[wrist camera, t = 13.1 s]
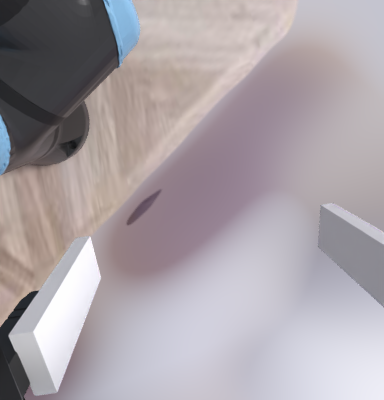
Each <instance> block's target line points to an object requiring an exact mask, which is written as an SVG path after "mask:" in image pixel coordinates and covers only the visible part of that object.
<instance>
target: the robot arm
mask: <svg viewBox="0 0 384 400" xmlns="http://www.w3.org/2000/svg"><path fill="white" fill-rule="evenodd" d="M139 35H140V24H139V19H138V16H137V13H136V10H135V7H134V5H133V3H132V0H0V175H2V174H4V173H6V172H9V171H11V170H14V169H16V168H18V167H21V166H23V165H26V164H28V163H30V164H36V165H51V164H56V163H60V162H62V161H64V160H66V159H68V158H70V157H72V156H73V155H75V154H76V153H77V152H78V151H79V150H80V149H81V147H82V146H83V144H84V143H85V141H86V138H87V135H88V131H89V115H88V110H87V107H86V104H85V102H84V100H85V99H86V98H87V97H88V96H89V95H90V94H91V93H92V92H93V91H94V90H95V89H96V88H97V87H98V86H99V85H100V84H101V83H102V82H103V81H104V80H105V79H106V78H107V76H108V75H109V74H110V73H111V72H112V71H113V70H114V69H115V68H118V67H120V66H121V64H122V62H123V59H124V58H125V57H126V56H127V55H128V53H129V52H130V51H131V50H132V49H133V48H134V47H135V45H136V44H137V42H138V39H139ZM318 247H319V248H320V249H321V250H322V251H323V252H324V253H325V254H326V255H327V256H328V257H330V258H331V259H332V260H333V261H334V262H335V263H336V264H337V265H338V266H339V267H340V268H342V269H343V270H344V271H345V272H346V273H347V274H348V275H349V276H350V277H351V278H352V279H354V280H355V281H356V282H357V283H358V284H359V285H360V286H361V287H362V288H363V289H364V290H365V291H366V292H368V293H369V294H370V295H371V296H372V297H373V298H374V299H375V300H376V301H377V302H378V303H380V304H381V305H382V306H383V307H384V232H383V231H381V230H379V229H378V228H376V227H374V226H372V225H371V224H369V223H367V222H365V221H364V220H362V219H360V218H358V217H357V216H355V215H353V214H352V213H350V212H348V211H346V210H345V209H343V208H341V207H339V206H338V205H336V204H334V203H332V204H324V205H321V208H320V225H319V240H318ZM100 279H101V276H100V272H99V268H98V265H97V261H96V257H95V253H94V249H93V246H92V242H91V238H90V236H86V237H79V238H75V240H74V241H73V243H72V244H71V246H70V247H69V249H68V250H67V251H66V253H65V254H64V256H63V257H62V259H61V260H60V262H59V263H58V264H57V266H56V267H55V269H54V270H53V272H52V273H51V275H50V276H49V277H48V279H47V280H46V282H45V283H44V285H43V286H42V287H41V289H40V290H39V291H33V292H31V293H29V294H28V295H27V296H26V297H24V298H23V299H22V300H21V301H20V302H19V303H18V305H17V306H16V307H15V309H14V311H13V312H12V313H11V314H10V315H9V317H8V319H7V320H6V321H5V322H4V323H3V324H2V326H1V327H0V400H25V398H24V395H25V393H26V390H27V389H28V387H29V385H30V386H31V388H32V391H33V393H34V395H35V396H38V395H45V394H50V393H57V392H58V389H59V386H60V384H61V381H62V379H63V376H64V373H65V371H66V368H67V366H68V363H69V360H70V358H71V355H72V353H73V350H74V347H75V345H76V342H77V339H78V337H79V334H80V332H81V329H82V326H83V324H84V321H85V319H86V316H87V313H88V311H89V308H90V306H91V303H92V300H93V298H94V295H95V292H96V290H97V287H98V285H99V282H100Z"/></svg>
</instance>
